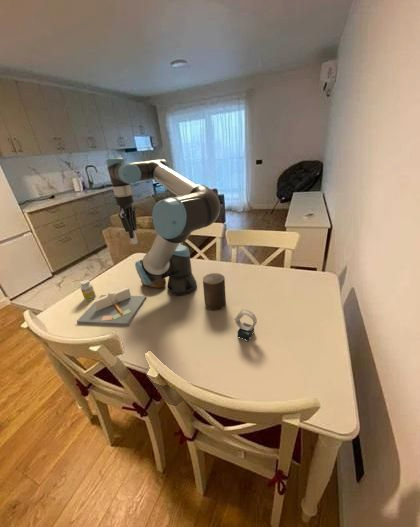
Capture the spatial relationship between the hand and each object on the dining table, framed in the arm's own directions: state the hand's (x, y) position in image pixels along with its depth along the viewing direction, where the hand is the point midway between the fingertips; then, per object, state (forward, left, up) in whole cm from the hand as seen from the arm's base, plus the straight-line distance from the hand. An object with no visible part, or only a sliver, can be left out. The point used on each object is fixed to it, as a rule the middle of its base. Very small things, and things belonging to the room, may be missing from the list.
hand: (134, 243), depth 118 cm
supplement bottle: (+24, +13, -25) cm, 37 cm away
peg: (+4, +22, -23) cm, 32 cm away
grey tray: (+6, +22, -24) cm, 33 cm away
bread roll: (-5, 0, -25) cm, 25 cm away
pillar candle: (-41, +15, -25) cm, 50 cm away
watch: (-55, +34, -25) cm, 69 cm away
